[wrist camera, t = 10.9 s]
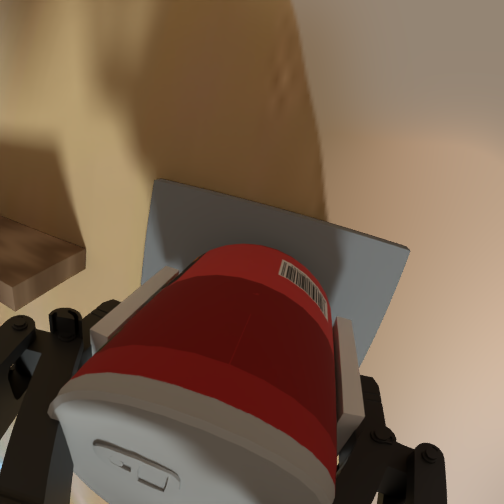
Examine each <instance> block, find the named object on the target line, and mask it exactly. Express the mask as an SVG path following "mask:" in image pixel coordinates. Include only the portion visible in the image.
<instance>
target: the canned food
mask: <svg viewBox="0 0 504 504" xmlns="http://www.w3.org/2000/svg"><path fill="white" fill-rule="evenodd" d="M47 413H48V415H49V416H50V418H52V419H55V420H58V421H60V424H61V426H62V429H63V432H64V435H65V438H66V441H67V444H68V447H69V450H70V454H71V457H72V461H73V464H74V468H73V472H74V473H75V474H76V475H77V476H78V477H79V478H80V479H81V480H82V481H83V482H84V483H85V484H86V485H87V486H88V487H89V488H90V489H91V490H93V491H94V492H95V493H96V494H98V495H99V496H100V497H101V498H102V499H104V500H105V501H106V502H108V503H109V504H332V503H333V501H334V498H335V483H336V470H337V417H336V385H335V363H334V346H333V330H332V318H331V308H330V305H329V302H328V299H327V296H326V293H325V292H324V290H323V288H322V287H321V285H320V283H319V282H318V280H317V279H316V278H315V277H314V276H313V275H312V274H311V272H310V271H309V270H308V269H307V268H306V267H305V266H304V265H302V264H301V263H299V262H298V261H297V260H295V259H294V258H293V257H291V256H289V255H287V254H285V253H283V252H281V251H279V250H277V249H274V248H270V247H267V246H263V245H255V244H233V245H225V246H222V247H218V248H215V249H212V250H209V251H208V252H206V253H204V254H202V255H201V256H199V257H197V258H196V259H195V260H194V261H193V262H192V263H191V264H190V265H188V266H187V267H186V268H185V269H184V270H183V271H182V272H181V273H180V274H179V275H178V276H176V277H175V278H174V279H173V280H172V281H171V282H170V283H169V284H168V285H167V286H166V287H165V288H164V289H162V290H161V291H160V292H159V293H158V294H157V295H156V296H155V297H154V298H153V299H152V300H151V301H150V302H149V303H147V304H146V305H145V306H144V307H143V308H142V309H141V310H140V311H139V312H138V313H137V314H136V315H135V316H134V317H133V318H132V319H130V320H129V321H128V322H127V323H126V324H125V325H124V326H123V327H122V328H121V329H120V330H119V331H118V332H117V333H116V334H115V335H114V336H113V337H112V338H111V339H110V340H109V341H107V342H106V343H105V344H104V345H103V346H102V347H101V348H100V349H99V350H98V351H97V352H96V353H95V354H94V355H93V356H92V357H91V358H90V359H89V360H88V361H87V362H86V363H85V364H84V365H83V366H82V367H81V368H80V369H79V371H78V372H77V373H76V374H75V375H74V376H73V377H72V378H71V379H70V380H69V381H68V382H67V383H66V384H65V385H64V386H63V387H62V388H61V389H60V391H59V393H58V395H57V397H56V398H55V399H54V400H53V401H52V402H51V403H50V406H49V409H48V412H47Z"/></svg>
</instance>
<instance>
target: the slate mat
mask: <svg viewBox="0 0 504 504" xmlns="http://www.w3.org/2000/svg"><path fill="white" fill-rule="evenodd" d="M233 244H255V245H263V246H267V247H270V248H274V249H277V250H279V251H281V252H283V253H285V254H287V255H289V256H291V257H293V258H294V259H295V260H297V261H298V262H299V263H301V264H302V265H304V266H305V267H306V268H307V269H308V270H309V271H310V272H311V274H312V275H313V276H314V277H315V278H316V279H317V280H318V282H319V283H320V285H321V287H322V288H323V290H324V292H325V293H326V296H327V299H328V302H329V305H330V308H331V318H332V327H333V324H334V322H335V319H336V317H337V316H338V317H342V318H345V319H349V320H351V322H352V328H353V334H354V340H355V346H356V353H357V359H358V366H359V367H360V365H361V363H362V361H363V359H364V357H365V355H366V353H367V351H368V349H369V347H370V345H371V343H372V341H373V339H374V337H375V335H376V333H377V330H378V328H379V326H380V324H381V322H382V319H383V317H384V315H385V313H386V310H387V308H388V306H389V304H390V301H391V299H392V296H393V294H394V291H395V289H396V287H397V284H398V282H399V279H400V277H401V274H402V272H403V269H404V267H405V264H406V261H407V259H408V256H409V253H410V250H409V249H408V248H407V247H406V246H403V245H400V244H397V243H394V242H391V241H387V240H385V239H381V238H378V237H375V236H372V235H368V234H365V233H362V232H359V231H355V230H352V229H349V228H346V227H342V226H339V225H335V224H332V223H329V222H325V221H322V220H318V219H315V218H312V217H308V216H305V215H301V214H297V213H294V212H290V211H287V210H283V209H279V208H276V207H272V206H268V205H265V204H261V203H257V202H253V201H250V200H246V199H242V198H238V197H234V196H230V195H226V194H223V193H219V192H215V191H211V190H207V189H202V188H198V187H194V186H190V185H186V184H182V183H177V182H173V181H169V180H165V179H157V180H154V186H153V192H152V198H151V205H150V212H149V219H148V226H147V234H146V242H145V251H144V260H143V269H142V280H141V286H142V285H143V284H144V283H145V282H147V281H148V280H149V279H150V278H151V277H153V276H154V275H155V274H156V273H158V272H159V271H160V270H161V269H163V268H164V267H165V266H168V267H172V268H175V269H178V270H179V274H180V273H181V272H182V271H183V270H184V269H185V268H186V267H187V266H188V265H190V264H191V263H192V262H193V261H194V260H195V259H196V258H197V257H199V256H201V255H202V254H204V253H206V252H208V251H209V250H212V249H215V248H218V247H222V246H225V245H233Z"/></svg>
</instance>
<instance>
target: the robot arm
mask: <svg viewBox="0 0 504 504" xmlns="http://www.w3.org/2000/svg"><path fill="white" fill-rule="evenodd" d="M178 275H179V270H178V269H175V268H172V267H168V266H165V267H164V268H163V269H161V270H160V271H159V272H158V273H156V274H155V275H154V276H153V277H151V278H150V279H149V280H148V281H147V282H145V283H144V284H143V285H142V286H140V287H139V288H138V289H137V290H136V291H134V292H133V293H132V294H131V295H130V296H128V297H127V298H126V299H125V300H124V301H122V302H119V301H116V300H114V299H112V300H109V301H106V302H103V303H102V304H101V305H100V306H98V307H97V308H96V309H94V310H93V311H92V312H91V314H90V313H89V314H88V315H87V316H86V317H84V318H83V319H82V316H81V314H80V313H79V312H78V311H76V310H74V309H71V308H58V309H55V310H53V311H52V312H51V313H50V314H49V323H50V331H51V332H46V331H42V330H38V329H36V327H35V322H34V320H33V319H32V318H30V317H29V316H25V315H17V316H14V317H11V318H10V319H8V320H7V321H6V322H5V323H4V324H3V325H2V326H1V327H0V440H1V438H2V437H3V435H4V434H5V432H6V431H7V429H8V428H9V426H10V425H11V423H12V422H13V420H14V419H15V417H16V416H17V418H16V421H15V424H14V427H13V430H12V433H11V437H10V440H9V443H8V447H7V450H6V454H5V457H4V461H3V464H2V468H1V472H0V504H70V493H71V484H72V476H73V468H74V464H73V461H72V457H71V454H70V450H69V447H68V444H67V441H66V438H65V435H64V432H63V429H62V426H61V424H60V421H58V420H55V419H52V418H50V416H49V415H48V413H47V412H48V409H49V406H50V403H51V402H52V401H53V400H54V399H55V398H56V397H57V395H58V393H59V391H60V389H61V388H62V387H63V386H64V385H65V384H66V383H67V382H68V381H69V380H70V379H71V378H72V377H73V376H74V375H75V374H76V373H77V372H78V371H79V369H80V368H81V367H82V366H83V365H84V364H85V363H86V362H87V361H88V360H89V359H90V358H91V357H92V356H93V355H94V354H95V353H96V352H97V351H98V350H99V349H100V348H101V347H102V346H103V345H104V344H105V343H106V342H107V341H109V340H110V339H111V338H112V337H113V336H114V335H115V334H116V333H117V332H118V331H119V330H120V329H121V328H122V327H123V326H124V325H125V324H126V323H127V322H128V321H129V320H130V319H132V318H133V317H134V316H135V315H136V314H137V313H138V312H139V311H140V310H141V309H142V308H143V307H144V306H145V305H146V304H147V303H149V302H150V301H151V300H152V299H153V298H154V297H155V296H156V295H157V294H158V293H159V292H160V291H161V290H162V289H164V288H165V287H166V286H167V285H168V284H169V283H170V282H171V281H172V280H173V279H174V278H175V277H176V276H178ZM332 330H333V346H334V363H335V385H336V417H337V456H338V455H339V464H338V465H337V470H336V483H335V498H334V501H333V503H332V504H371V503H372V501H373V499H374V497H375V494H376V492H378V500H377V504H447V489H446V474H445V462H444V456H443V453H442V452H441V450H440V449H439V448H438V447H436V446H435V445H433V444H430V443H422V444H419V445H418V446H417V447H416V448H415V449H412V448H409V447H407V446H404V445H402V444H400V443H398V442H396V437H395V435H394V433H393V432H392V431H391V430H390V429H389V428H388V427H386V424H385V419H384V413H383V407H382V403H381V396H380V391H379V386H378V385H377V383H376V382H375V380H374V379H373V377H368V376H363V375H360V373H359V366H358V359H357V353H356V346H355V340H354V334H353V328H352V322H351V320H349V319H345V318H342V317H338V316H337V317H336V319H335V322H334V324H333V327H332ZM12 365H13V366H12ZM11 366H12V367H11ZM17 414H18V415H17Z"/></svg>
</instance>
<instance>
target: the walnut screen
mask: <svg viewBox="0 0 504 504" xmlns="http://www.w3.org/2000/svg"><path fill="white" fill-rule="evenodd" d="M85 260H86V249H85V248H82V247H80V246H77V245H74V244H71V243H69V242H66V241H63V240H61V239H58V238H56V237H53V236H50V235H48V234H45V233H43V232H40V231H37V230H35V229H32V228H30V227H27V226H25V225H22V224H20V223H17V222H15V221H12V220H10V219H7V218H5V217H3V216H0V302H1V303H3V304H4V305H6V306H8V307H9V308H11V309H12V310H14V311H15V312H16V311H17V310H19V309H20V308H22V307H23V306H25V305H26V304H28V303H30V302H31V301H33V300H34V299H36V298H38V297H39V296H41V295H42V294H44V293H46V292H47V291H49V290H51V289H52V288H54V287H55V286H57V285H59V284H60V283H62V282H64V281H65V280H67V279H69V278H70V277H72V276H74V275H76V274H77V273H79V272H81V271H82V270H84V269H85Z"/></svg>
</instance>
